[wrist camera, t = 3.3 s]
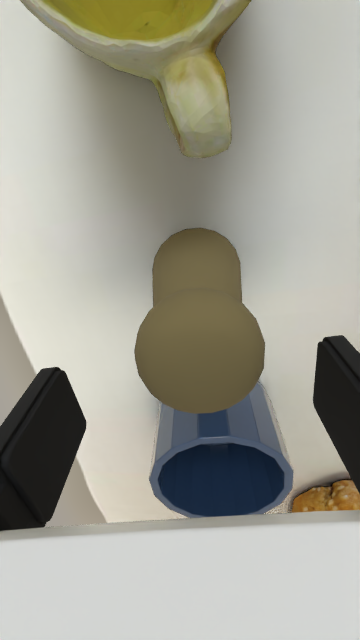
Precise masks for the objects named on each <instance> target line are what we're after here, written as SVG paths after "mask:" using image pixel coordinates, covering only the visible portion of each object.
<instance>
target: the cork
mask: <svg viewBox="0 0 360 640" xmlns="http://www.w3.org/2000/svg"><path fill="white" fill-rule="evenodd" d="M264 353H265V342H264V339H263V336H262V333H261V330H260V328H259V325H258V323H257V320H256V318H255V317H254V316H253V315H252V314H251V313H250V311H249V310H248V309H247V308H246V307H245V306H244V305H243V304H242V291H241V270H240V261H239V258H238V255H237V252H236V249H235V248H234V247H233V246H232V244H231V243H230V242H229V241H228V239H226V238H225V237H223V236H222V235H220V234H218V233H217V232H215V231H212V230H208V229H203V228H193V229H185V230H183V231H180V232H178V233H176V234H174V235H172V236H171V237H169V238H168V239H167V240H166V241H165V242H164V243H163V244H162V245H161V247H160V248H159V250H158V252H157V254H156V256H155V259H154V264H153V308H152V309H151V310H150V311H149V312H148V314H147V316H146V317H145V319H144V321H143V322H142V324H141V326H140V328H139V331H138V334H137V339H136V345H135V360H136V364H137V369H138V374H139V376H140V378H141V379H142V381H143V382H144V384H145V385H146V387H147V388H148V390H149V391H150V393H151V394H152V395H153V396H154V397H156V398H157V399H158V400H159V401H161V402H162V403H163V404H165V405H167V406H169V407H171V408H174V409H176V410H178V411H183V412H188V413H194V414H200V413H214V412H217V411H221V410H224V409H228V408H230V407H231V406H233V405H235V404H237V403H238V402H240V401H242V400H243V399H244V398H245V397H246V396H247V395H248V394H249V393H250V392H251V391H252V390H253V388H254V387H255V385H256V384H257V382H258V379H259V377H260V375H261V373H262V371H263V369H264Z"/></svg>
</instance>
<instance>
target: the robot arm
mask: <svg viewBox="0 0 360 640" xmlns="http://www.w3.org/2000/svg"><path fill="white" fill-rule="evenodd" d="M313 403H314V407H315V409H316V411H317V413H318V415H319V417H320V419H321V421H322V423H323V425H324V427H325V429H326V431H327V433H328V434H329V436H330V438H331V440H332V442H333V444H334V446H335V448H336V450H337V452H338V454H339V456H340V457H341V459H342V461H343V463H344V465H345V467H346V469H347V471H348V473H349V475H350V477H351V479H352V481H353V482H354V484H355V486H356V488H357V490H358V492H359V494H360V353H359V352H358V351H357V350H356V349H355V348H354V347H353V346H352V345H351V344H350V342H349V341H348V340H347V339H346V338H345V337H344V336H342V335H340V336H331V337H325V338H324V339H323V342H319V343H318V348H317V360H316V371H315V382H314V394H313ZM85 430H86V420H85V417H84V415H83V413H82V410H81V408H80V405H79V403H78V401H77V398H76V396H75V394H74V391H73V389H72V387H71V384H70V382H69V380H68V377H67V375H66V373H65V371H63V370H61V369H60V368H59V367H53V368H44V369H41V370H40V372H39V373H38V374H37V376H36V377H35V379H34V380H33V381H32V383H31V384H30V386H29V387H28V389H27V390H26V391H25V393H24V394H23V395H22V397H21V398H20V400H19V401H18V402H17V404H16V405H15V407H14V408H13V410H12V411H11V412H10V414H9V415H8V417H7V418H6V419H5V421H4V422H3V424H2V425H1V426H0V640H360V510H343V511H315V512H296V513H277V514H258V515H239V516H221V517H203V518H186V519H169V520H152V521H135V522H119V523H104V524H88V525H72V526H58V527H45V524H46V522H48V521H50V519H51V518H52V516H53V513H54V511H55V508H56V505H57V503H58V500H59V498H60V495H61V492H62V490H63V487H64V485H65V482H66V479H67V477H68V474H69V472H70V469H71V467H72V464H73V461H74V459H75V456H76V453H77V451H78V448H79V446H80V443H81V440H82V438H83V435H84V433H85Z"/></svg>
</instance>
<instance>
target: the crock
mask: <svg viewBox="0 0 360 640" xmlns="http://www.w3.org/2000/svg"><path fill="white" fill-rule="evenodd" d="M149 481H150V484H151V487H152V490H153V493H154V495H155V497H156V498H158V499H159V500H160V501H161V502H162V503H163V504H164V505H165V506H166V507H167V508H169V509H170V510H173V511H175V512H177V513H180V514H182V515H184V516H186V517H189V518H203V517H221V516H239V515H258V514H264V513H266V512H267V511H269V510H271V509H273V508H274V507H276V506H278V505H280V503H282V502H283V500H284V499H285V498H286V496H287V495H288V494H289V492H290V491H291V490H292V487H293V468H292V465H291V462H290V459H289V456H288V453H287V450H286V446H285V443H284V440H283V437H282V434H281V431H280V428H279V425H278V422H277V419H276V416H275V412H274V409H273V406H272V403H271V400H270V399H269V397H268V394H267V392H266V390H265V388H264V387H263V386H262V384H261V383H260V382H259V381H258V382H257V384H256V385H255V387H254V388H253V390H252V391H251V392H250V393H249V394H248V395H247V396H246V397H245V398H244V399H243V400H242V401H240V402H238V403H237V404H235V405H233V406H231V407H230V408H228V409H224V410H221V411H217V412H214V413H200V414H194V413H188V412H183V411H178V410H176V409H174V408H171V407H169V406H167V405H165V404H163V403H162V402H161V401H160V406H159V409H158V416H157V423H156V431H155V438H154V446H153V453H152V461H151V468H150V476H149Z"/></svg>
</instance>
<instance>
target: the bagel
mask: <svg viewBox="0 0 360 640" xmlns="http://www.w3.org/2000/svg"><path fill="white" fill-rule="evenodd" d="M343 510H360V494H359V492H358V490H357V488H356V486H355V484H354V482H353V481H352V480H341V481H339V482H334V483H333V485H332V487H326V488H325V487H323V486H322V487H318V488H316V487H314V488H312V489H309V491H307V492H305V493H303V494H301V495H299V496H298V497H296V498H295V499H294V503H293V508H292V513H296V512H315V511H343Z"/></svg>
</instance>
